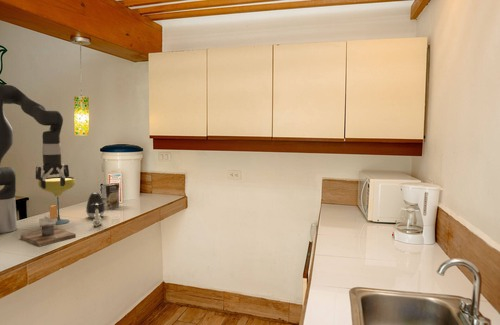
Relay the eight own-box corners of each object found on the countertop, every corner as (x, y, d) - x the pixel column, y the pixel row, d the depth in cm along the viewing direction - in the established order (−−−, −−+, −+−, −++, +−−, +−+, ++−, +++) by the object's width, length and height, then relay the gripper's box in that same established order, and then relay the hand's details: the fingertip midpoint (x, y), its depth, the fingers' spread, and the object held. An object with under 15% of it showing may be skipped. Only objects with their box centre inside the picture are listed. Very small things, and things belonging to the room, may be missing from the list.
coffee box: (107, 210, 229) (106, 185, 227) (101, 208, 232) (100, 184, 231) (119, 207, 236) (118, 184, 234) (114, 206, 240) (113, 183, 238)
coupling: (47, 230, 164) (46, 207, 163) (37, 225, 171) (36, 203, 170) (62, 226, 169) (61, 205, 168) (51, 222, 176) (50, 201, 175)
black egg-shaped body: (89, 220, 204) (88, 194, 203) (84, 216, 212) (83, 192, 210) (107, 217, 211) (106, 192, 209) (101, 214, 219) (100, 190, 217)
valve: (90, 226, 191) (89, 205, 190) (92, 223, 197) (91, 202, 196) (103, 226, 193) (102, 204, 192) (104, 222, 199) (103, 202, 198)
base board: (20, 238, 171) (19, 226, 170) (55, 230, 185) (55, 218, 184) (39, 246, 160) (38, 233, 159) (75, 236, 174) (75, 225, 173)
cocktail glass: (51, 217, 208) (49, 176, 205) (82, 218, 208) (80, 176, 206) (33, 226, 190) (30, 181, 187) (66, 227, 190) (64, 181, 188)
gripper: (39, 154, 156) (41, 190, 158) (71, 152, 168) (72, 186, 169) (31, 153, 160) (33, 188, 162) (62, 152, 172) (64, 184, 174)
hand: (53, 187), depth 166 cm, fingers open, 8 cm apart
